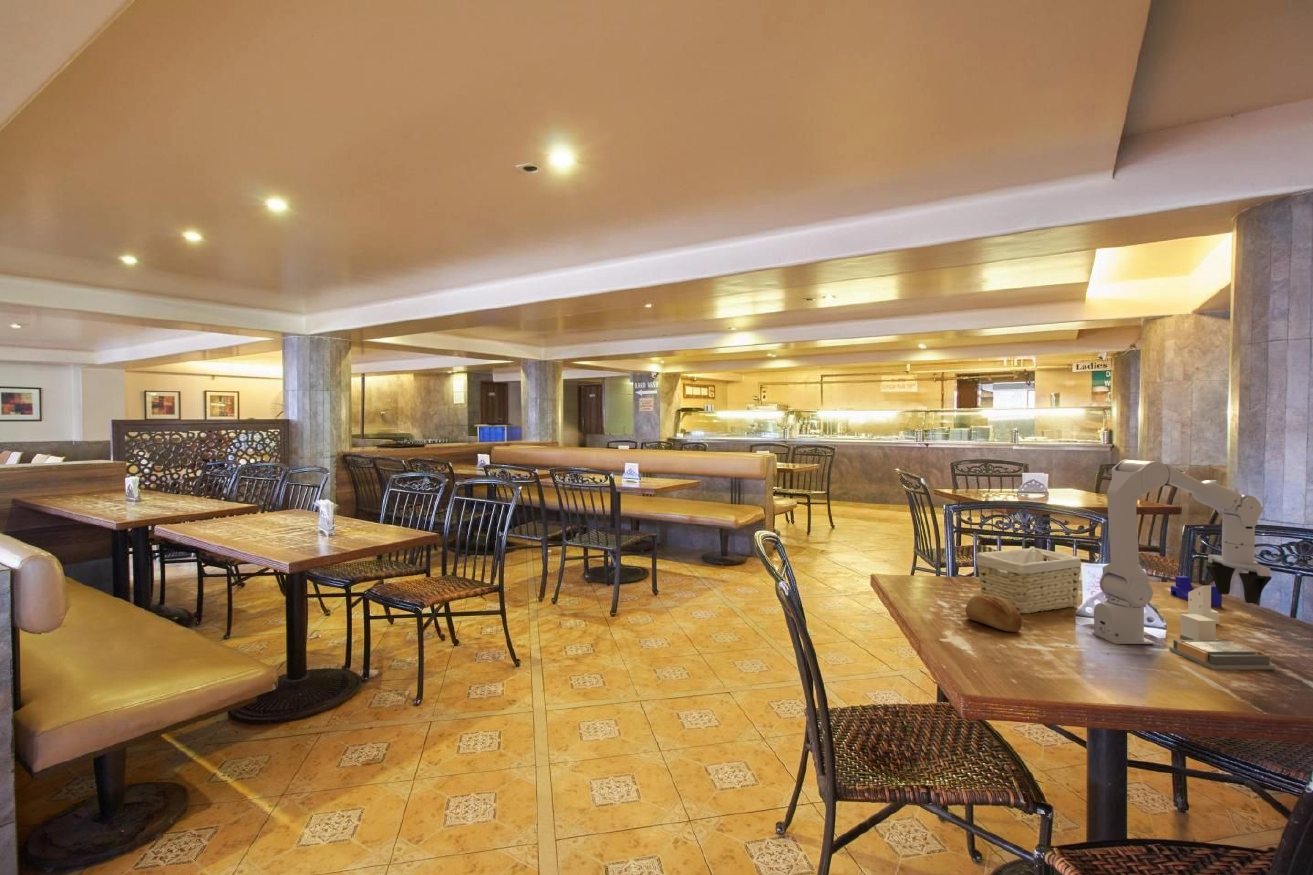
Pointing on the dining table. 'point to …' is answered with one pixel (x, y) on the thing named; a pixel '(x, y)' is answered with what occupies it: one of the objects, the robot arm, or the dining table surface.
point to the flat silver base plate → (1222, 648)
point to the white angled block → (1202, 603)
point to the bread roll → (994, 612)
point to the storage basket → (1030, 578)
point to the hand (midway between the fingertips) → (1237, 598)
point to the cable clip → (1185, 586)
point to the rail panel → (1222, 657)
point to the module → (1197, 627)
